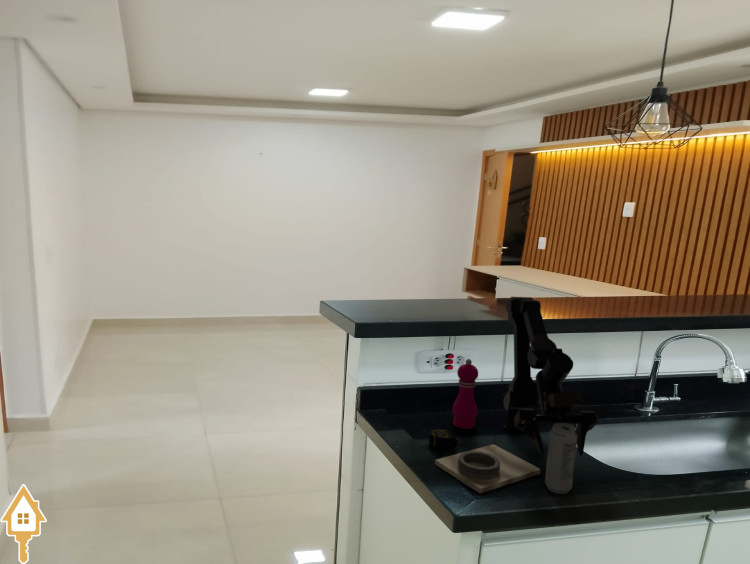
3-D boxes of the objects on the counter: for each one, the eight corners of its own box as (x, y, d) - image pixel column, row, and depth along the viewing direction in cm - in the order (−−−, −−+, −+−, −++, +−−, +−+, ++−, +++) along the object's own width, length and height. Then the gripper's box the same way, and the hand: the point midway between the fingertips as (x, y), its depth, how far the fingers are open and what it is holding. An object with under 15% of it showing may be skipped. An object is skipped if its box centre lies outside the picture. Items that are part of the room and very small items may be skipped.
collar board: (493, 448, 152) (494, 435, 151) (540, 473, 139) (541, 459, 138) (435, 464, 141) (436, 450, 140) (480, 493, 128) (481, 478, 127)
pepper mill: (480, 428, 165) (485, 362, 162) (457, 430, 163) (462, 363, 160) (469, 419, 172) (474, 355, 169) (447, 421, 170) (452, 356, 167)
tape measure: (458, 450, 150) (459, 437, 149) (434, 453, 148) (435, 439, 147) (447, 440, 156) (448, 427, 156) (424, 442, 154) (425, 429, 153)
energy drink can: (556, 480, 136) (562, 420, 134) (577, 491, 131) (583, 429, 129) (538, 485, 133) (544, 424, 131) (559, 497, 128) (565, 434, 125)
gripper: (521, 375, 133) (531, 439, 124) (599, 378, 134) (615, 442, 124) (509, 396, 142) (518, 457, 132) (583, 399, 142) (597, 460, 133)
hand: (561, 454), depth 130 cm, fingers open, 9 cm apart
